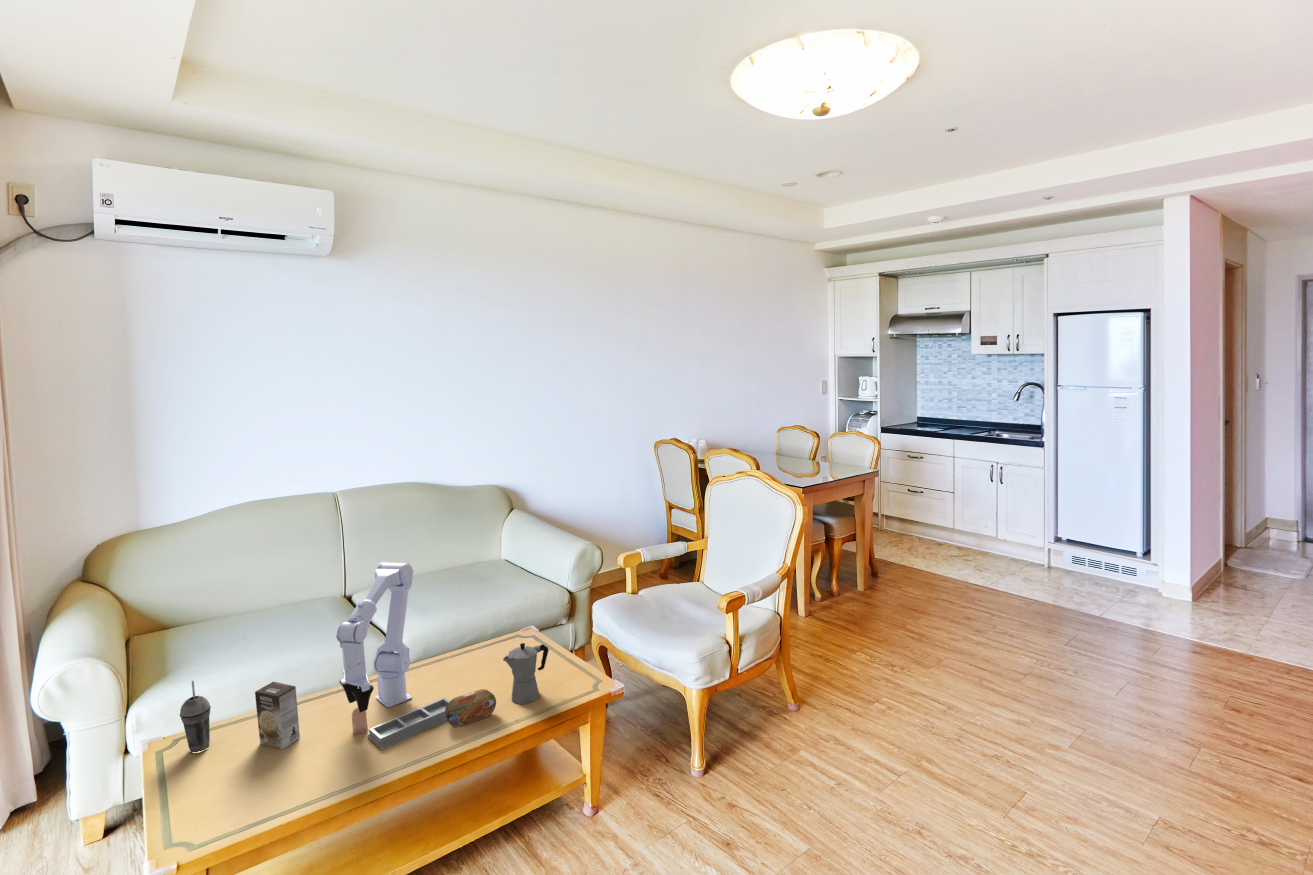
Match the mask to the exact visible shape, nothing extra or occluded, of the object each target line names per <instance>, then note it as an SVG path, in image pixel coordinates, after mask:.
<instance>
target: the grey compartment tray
mask: <svg viewBox="0 0 1313 875" xmlns="http://www.w3.org/2000/svg"><path fill="white" fill-rule="evenodd" d="M450 701H451V700H449V699H447V698H446V697H442V698H440V699H437V700H435V701H432V702H430V703H428V704H425V705H423V706H421V707H418V708H416V709H414V710H411V711H408V712H407V713H403V714H401V715H400V716H399V715H398V716H396V717H394V718H392V719H389V720H387V721H384V722H382V723H379V724H377V725H375V726H372V727H370V728H368V731H369V732H368V733H367V738H368V739H370V741H371V742H373V744H375V745H376V746H377V747H378V748H380V749H381V750H384V749H386V748H388V747H390V746H392V745H394V744H396V743H397V744H398V743H399V742H401V741H403V740H406V739H408V738H410V737H412V736H414V735H418V734H419V733H422V732H424V731H425V730H426V731H427V730H428V729H431V728H432V727H435V726H437V725H440V724H442V723H444V722H446V721H447V719H446V717H445V709H446V706H447V705H448V703H449V702H450ZM447 722H448V721H447Z"/></svg>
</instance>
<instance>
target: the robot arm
mask: <svg viewBox="0 0 1313 875" xmlns="http://www.w3.org/2000/svg"><path fill="white" fill-rule="evenodd" d="M413 576H414V569H413V567H412V565H411V563H409V562H404V563H403V562H402V563H401V562H385V561H382V562H379V564H378V565H377V566H376V569H375V571H374V582H373V583H372V584H371V587H370V589H369V591H368V593H367V595H366V597H365V599H364V600H360V601H358V603H357V605H356V606H355V608H354V610H352V612H351V614H350V616H349V618H348V619H347V621H344V622H342V623H341V624H340V625H339V626H338V628H337V631H336V635H335V636H336V640H337V641H338V643H339V647H340V648H341V649H342V660H343V669H342V677H343V679H339V681H338V682H339V683H340V685H341V687H342V688H343V690H344V692H345V695H346V696H345V697H346V698H347V701H348V703H349V704H352V703H354V702H356V705H357V708H358V709H359V711H360V712H363V711H365V710H366V711H367V710H368V708H369V702H370V698H371V695H372V693H373V691H374V686H373V685H372V684H370V682H369V681H368V680H369V679H368V673H367V667H366V666H367V665H366V656H365V643H364V642H365V639H366V638H367V635H368V629H369V628H370V627H369V624H370V623H371V621H372V619H373V618H374V616H375V614H376V613H377V604H378V602H379V601H380V600H381V598H382V597H383V596H384V594H385V593H386V592H387V590H388V589H389V591H390V592H391V593H390V602H389V609H388V616H387V624H386V625H387V626H386V633H385V640H384V643H382V644H381V645H380V646H379V647H377V649H376V654H375V656H374V659H373V663H372V664H373V668H374V671H375V672H377V673H378V675H377V680H376V681H377V682H376V683H377V693H378V694H377V695H376V696H375V699H376V700H378V701H379V702H380V703H382V704H383V705H384V706H385V707H386V708H392V707H393V706H396V705H399V704H401V703H404V702H406V701H409V700H411V699H412V698H413V697H412V696H411V695H410V694H409V693H407V683H406V672H407V671H408V670H409V668H410V666H411V665H410V664H411V657H410V650H411V649H410V647H409V646H407V645H406V644H405V643H404V642H403V640H404V631H405V624H406V623H405V622H406V615H407V606H408V598H409V591H410V589H411V588H412V584H413Z"/></svg>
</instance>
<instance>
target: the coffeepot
mask: <svg viewBox="0 0 1313 875" xmlns="http://www.w3.org/2000/svg"><path fill="white" fill-rule="evenodd" d="M519 645H520V646H518V647H515V648H514V649H511V650H510V651H508V654H507V655H505V656H504V658H502V660H503V662H505V663H506V664H507V665H508V666H509V667H510V669H511V673H512V676H513V681H512V688H511V701H512V702H513V703H515V704H518V705H526V704H527V705H528V704H530V703H533V702H535V701H537V700H538V699H539V698H540V692H539V688H538V682H537V678H536V668H537V670H538V671H542V670H544V669H545V666H546V662H547V658H548V654H549V647H547V646H546V645H545V644H540V645H535V646H529V645H527V646H526V643H524V642H521V643H519ZM541 651H542V652H543V653H542V658H541V662H540V667H539V666H538V667H537V659H538V658H537V657H538V653H540V652H541Z"/></svg>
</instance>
